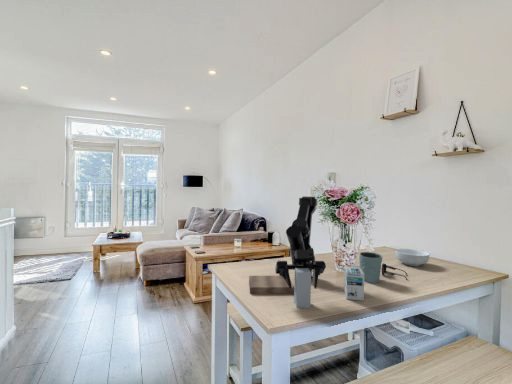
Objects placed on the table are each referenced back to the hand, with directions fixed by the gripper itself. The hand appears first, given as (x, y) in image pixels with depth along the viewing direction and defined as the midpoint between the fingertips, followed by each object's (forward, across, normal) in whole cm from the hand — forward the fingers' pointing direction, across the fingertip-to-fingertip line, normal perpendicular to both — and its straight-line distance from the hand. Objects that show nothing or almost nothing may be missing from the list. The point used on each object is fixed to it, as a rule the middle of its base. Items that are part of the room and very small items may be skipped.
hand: (303, 288), depth 103 cm
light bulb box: (-2, +23, +12) cm, 26 cm away
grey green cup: (-14, +38, +24) cm, 47 cm away
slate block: (+4, 0, +6) cm, 7 cm away
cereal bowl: (-32, +74, +42) cm, 91 cm away
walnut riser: (-9, -10, +18) cm, 22 cm away
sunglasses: (-18, +53, +28) cm, 63 cm away
